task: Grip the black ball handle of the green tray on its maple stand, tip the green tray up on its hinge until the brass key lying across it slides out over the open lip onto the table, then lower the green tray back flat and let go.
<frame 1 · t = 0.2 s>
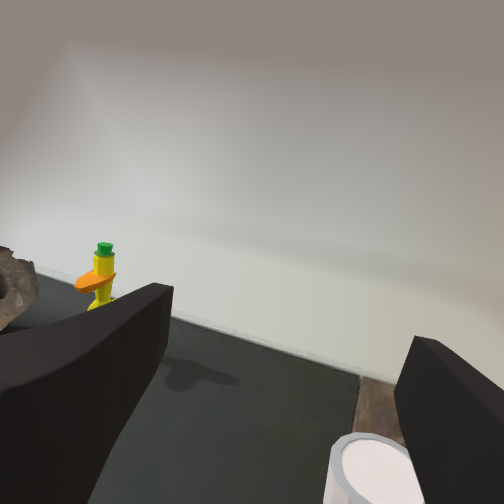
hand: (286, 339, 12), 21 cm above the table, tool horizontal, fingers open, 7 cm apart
toy figure: (97, 344, 46), on the table
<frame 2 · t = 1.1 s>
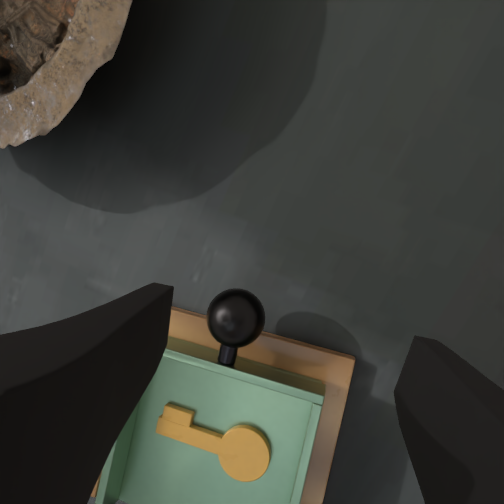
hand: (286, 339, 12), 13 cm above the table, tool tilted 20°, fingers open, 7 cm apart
green tray: (213, 417, 22), point 3 cm above the table, hinge at 0.0°, touching key
stand: (206, 502, 25), on the table
stone bowl: (43, 10, 29), on the table
key: (209, 438, 23), point 2 cm above the table, touching green tray
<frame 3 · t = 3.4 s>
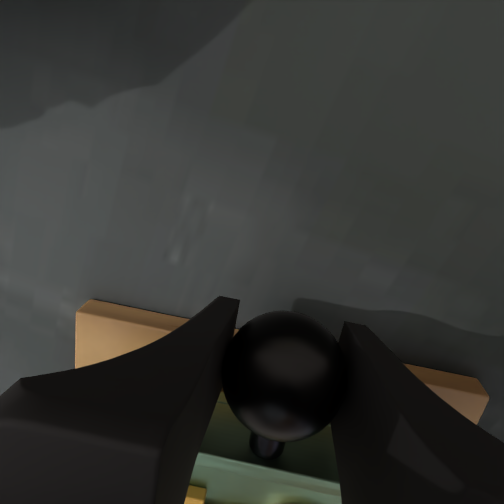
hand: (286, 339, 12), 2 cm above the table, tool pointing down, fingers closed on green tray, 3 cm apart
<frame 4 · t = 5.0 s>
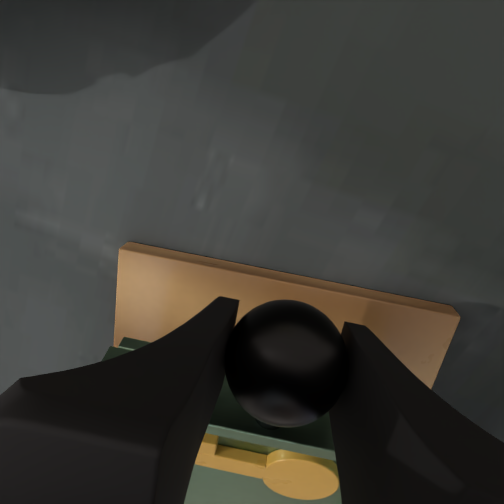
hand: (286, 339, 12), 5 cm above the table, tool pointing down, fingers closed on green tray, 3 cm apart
green tray: (254, 465, 14), point 5 cm above the table, hinge at 14.3°, touching gripper, key
stand: (242, 473, 20), on the table
key: (245, 456, 16), point 3 cm above the table, tilted 14°, touching green tray
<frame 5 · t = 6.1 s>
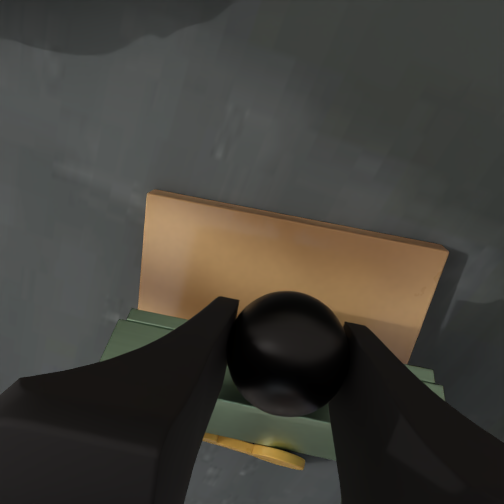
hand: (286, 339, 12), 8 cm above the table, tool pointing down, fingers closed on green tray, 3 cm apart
green tray: (261, 419, 15), point 6 cm above the table, hinge at 28.2°, touching gripper, key
stand: (253, 409, 22), on the table
key: (240, 441, 22), point 1 cm above the table, tilted 39°, touching green tray
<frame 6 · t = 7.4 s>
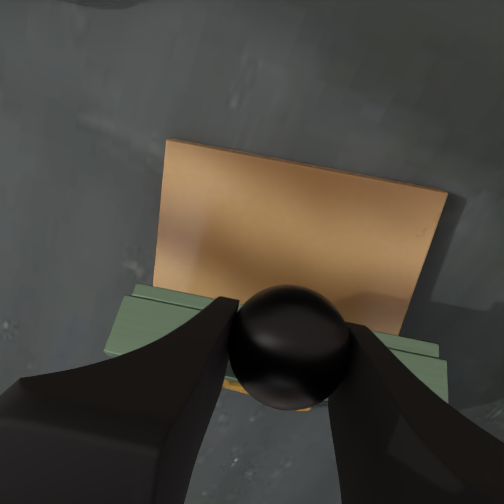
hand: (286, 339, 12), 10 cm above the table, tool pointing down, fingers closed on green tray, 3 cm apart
green tray: (268, 379, 16), point 7 cm above the table, hinge at 41.5°, touching gripper, key
stand: (263, 355, 24), on the table
key: (251, 384, 24), point 1 cm above the table, tilted 37°, touching green tray
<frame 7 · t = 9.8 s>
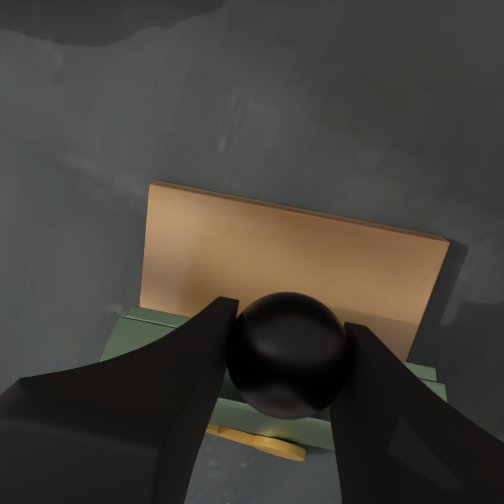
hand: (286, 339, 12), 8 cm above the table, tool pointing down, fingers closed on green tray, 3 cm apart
green tray: (262, 414, 15), point 6 cm above the table, hinge at 30.4°, touching gripper, key
stand: (255, 401, 23), on the table
key: (242, 432, 23), point 1 cm above the table, tilted 39°, touching green tray
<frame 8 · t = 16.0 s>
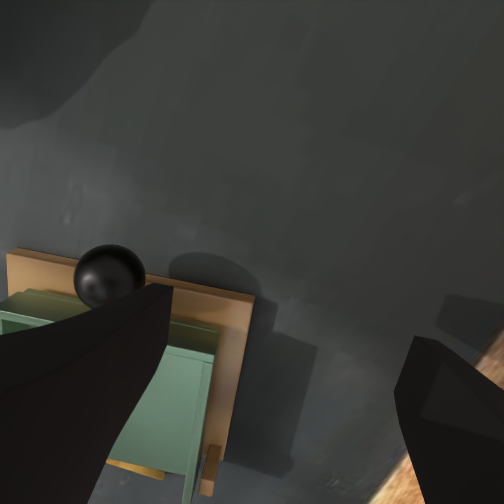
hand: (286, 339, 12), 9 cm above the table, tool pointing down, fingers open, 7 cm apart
green tray: (106, 375, 21), point 3 cm above the table, hinge at -0.1°, touching key
stand: (123, 428, 26), on the table
key: (112, 455, 26), point 1 cm above the table, tilted 37°, touching green tray
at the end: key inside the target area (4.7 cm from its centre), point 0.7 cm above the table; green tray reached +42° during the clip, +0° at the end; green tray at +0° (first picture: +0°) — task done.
